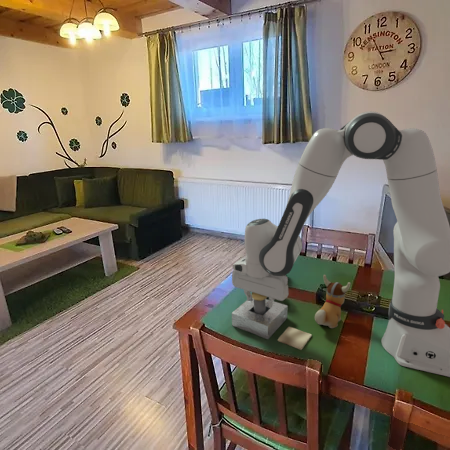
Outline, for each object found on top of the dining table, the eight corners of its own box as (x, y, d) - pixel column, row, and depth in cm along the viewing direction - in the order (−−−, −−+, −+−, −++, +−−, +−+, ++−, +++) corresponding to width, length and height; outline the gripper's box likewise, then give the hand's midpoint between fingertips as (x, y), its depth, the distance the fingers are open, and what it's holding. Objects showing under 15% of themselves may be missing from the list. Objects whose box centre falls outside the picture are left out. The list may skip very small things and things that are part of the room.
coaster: (311, 335, 106) (311, 334, 105) (301, 349, 100) (301, 348, 99) (288, 328, 110) (288, 326, 110) (277, 340, 104) (277, 339, 104)
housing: (287, 318, 116) (287, 305, 114) (267, 339, 105) (267, 326, 104) (253, 306, 124) (253, 295, 122) (232, 325, 113) (231, 313, 112)
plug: (270, 320, 115) (269, 292, 112) (262, 328, 111) (262, 298, 108) (257, 316, 118) (256, 288, 115) (249, 323, 114) (248, 294, 111)
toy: (352, 317, 114) (355, 278, 109) (330, 339, 104) (333, 297, 99) (326, 308, 120) (328, 270, 116) (304, 327, 110) (305, 287, 106)
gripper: (292, 270, 104) (291, 308, 109) (238, 257, 116) (240, 292, 120) (283, 278, 100) (282, 317, 104) (228, 264, 111) (230, 299, 116)
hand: (259, 303), depth 112 cm, fingers open, 6 cm apart
